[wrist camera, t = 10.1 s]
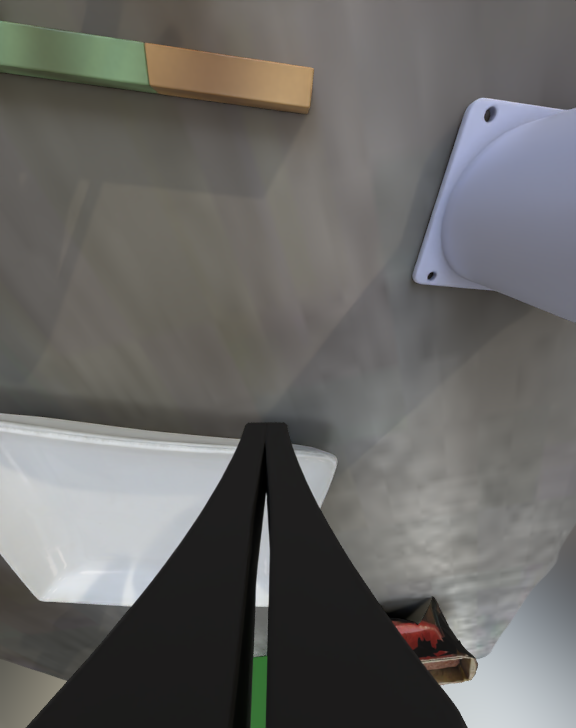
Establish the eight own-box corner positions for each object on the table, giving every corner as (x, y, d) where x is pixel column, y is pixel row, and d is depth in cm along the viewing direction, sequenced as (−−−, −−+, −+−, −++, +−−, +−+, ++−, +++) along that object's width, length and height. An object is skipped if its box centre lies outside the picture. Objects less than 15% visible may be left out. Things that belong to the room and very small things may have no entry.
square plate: (333, 420, 22) (344, 460, 18) (281, 573, 36) (281, 611, 32) (-46, 381, 18) (-116, 421, 15) (58, 566, 32) (33, 608, 29)
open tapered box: (343, 588, 43) (348, 683, 35) (465, 595, 40) (501, 703, 32) (350, 611, 52) (355, 692, 44) (451, 618, 48) (477, 709, 40)
